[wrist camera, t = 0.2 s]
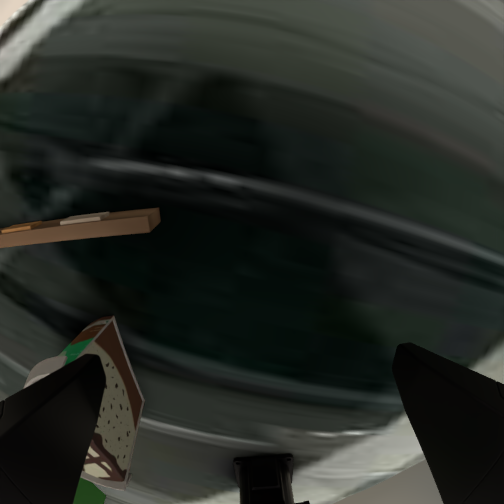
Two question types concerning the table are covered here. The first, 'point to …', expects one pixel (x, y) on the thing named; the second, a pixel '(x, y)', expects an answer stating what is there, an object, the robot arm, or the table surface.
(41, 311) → the table surface
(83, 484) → the hardback book
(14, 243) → the rail
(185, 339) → the table surface
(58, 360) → the food container
